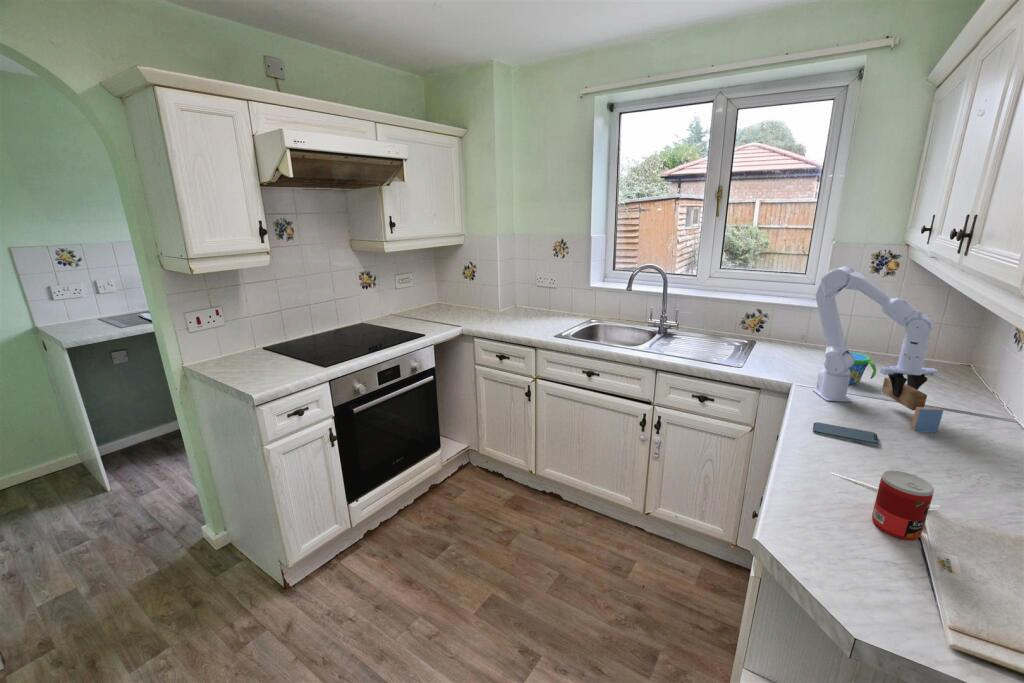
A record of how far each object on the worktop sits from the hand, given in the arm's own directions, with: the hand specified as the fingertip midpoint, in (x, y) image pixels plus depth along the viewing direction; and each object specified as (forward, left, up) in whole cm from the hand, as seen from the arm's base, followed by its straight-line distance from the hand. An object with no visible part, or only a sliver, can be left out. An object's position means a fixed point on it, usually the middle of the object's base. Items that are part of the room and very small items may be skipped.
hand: (902, 396), depth 141 cm
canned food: (+57, -36, -6) cm, 68 cm away
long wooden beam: (0, 0, -2) cm, 2 cm away
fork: (+44, -31, -7) cm, 55 cm away
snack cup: (-28, 0, -6) cm, 29 cm away
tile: (+11, 0, -6) cm, 13 cm away
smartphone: (+16, -24, -7) cm, 30 cm away
